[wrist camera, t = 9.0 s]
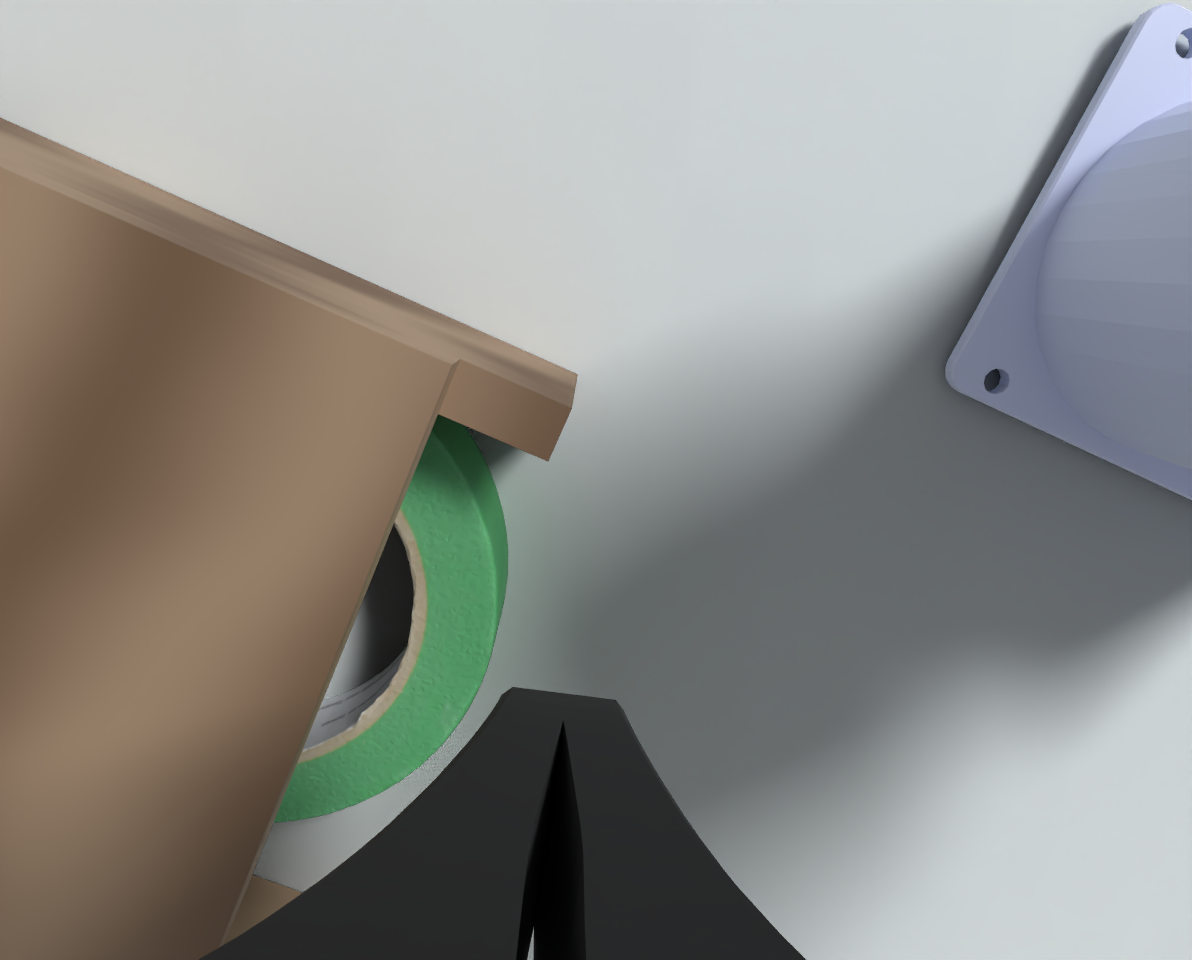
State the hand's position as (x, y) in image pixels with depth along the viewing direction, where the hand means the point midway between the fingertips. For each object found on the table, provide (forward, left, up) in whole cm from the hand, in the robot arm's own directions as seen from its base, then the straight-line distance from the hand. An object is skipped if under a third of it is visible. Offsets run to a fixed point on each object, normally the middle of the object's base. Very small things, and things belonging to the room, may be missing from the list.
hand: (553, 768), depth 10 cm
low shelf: (+8, +5, -9) cm, 13 cm away
